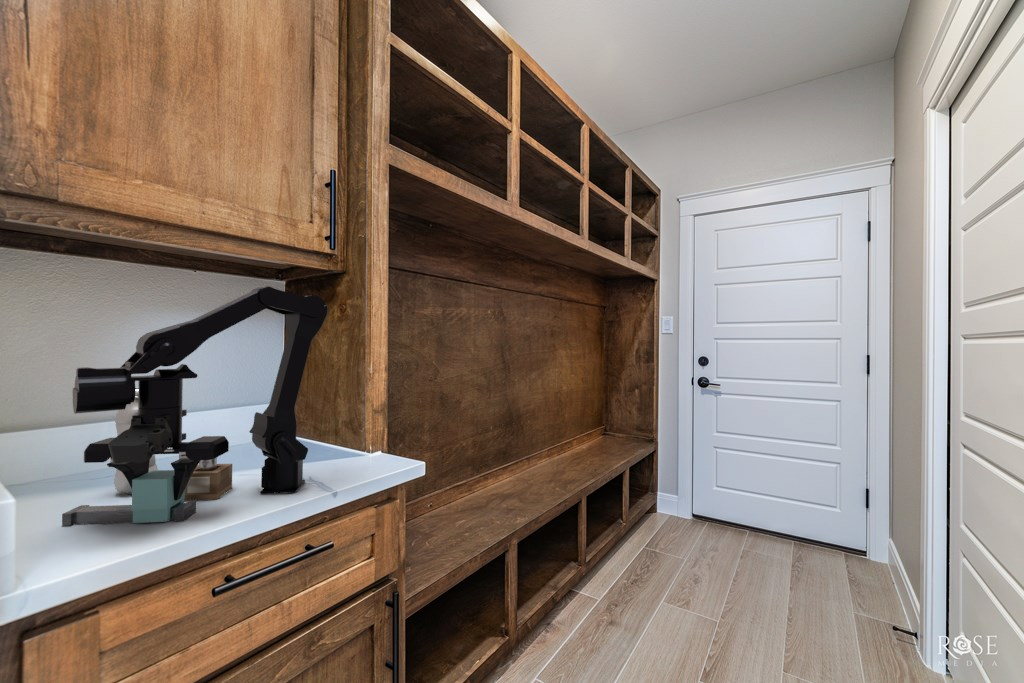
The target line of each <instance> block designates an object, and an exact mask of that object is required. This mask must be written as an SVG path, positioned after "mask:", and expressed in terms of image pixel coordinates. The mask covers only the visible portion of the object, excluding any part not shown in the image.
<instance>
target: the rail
mask: <svg viewBox="0 0 1024 683" xmlns="http://www.w3.org/2000/svg"><path fill="white" fill-rule="evenodd" d="M196 513H197V500H191V501H187V502H184V503H177V504H175V505H174V506H172V507H170V520H169V521H168V522H171V521H174V522H176V523H183V522H185V521H187V520H188V519H190V518H191V517H192V516H194V515H195V514H196ZM61 518H62V520H61V527H62V528H63V527H72V526H74V525H79V526H80V525H97V524H99V525H101V524H120V523H121V524H123V523H124V524H126V523H133V511H132V504H121V505H119V504H118V505H117V504H116V505H94V506H93V505H92V506H91V505H89V504H84V505H83V504H81V505H79V506H77V507H75V508H72V509H70V510H68V511H66V512H63V513H62V514H61Z"/></svg>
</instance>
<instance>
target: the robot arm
mask: <svg viewBox="0 0 1024 683" xmlns="http://www.w3.org/2000/svg"><path fill="white" fill-rule="evenodd" d="M264 310H268V311H271V312H274V313H277V314H279V315H284V316H285V321H284V322H285V329H286V341H285V344H284V348H283V351H282V355H281V360H280V363H279V366H278V372H277V374H276V378H275V381H274V386H273V390H272V392H271V393H272V394H271V397H270V401H269V404H268V406H267V408H266V409H265V410H264V411H263V413H261V412H255V413H254V416H253V424H252V427H251V429H249V434H251V435H252V436H251V440H252V444H254V446H255V447H256V448H258V449H259V450H261V452H262V455H263V456H264V457H267V458H265V459H264V465H263V466H262V467H261V489H260V495H267V494H293V493H297V492H298V491H299V490H300V488H302V486H304V484H305V483H306V480H305V479H304V478H303V474H304V472H303V470H304V469H303V466H304V460H306V457H307V455H308V452H309V448H308V447H306V445H304V444H303V442H301V441H300V440H298V439H297V431H298V430H297V429H298V423H297V421H298V420H297V416H296V404H297V401H298V396H299V393H300V389H301V385H302V382H303V381H302V380H303V378H304V377H303V376H304V375H305V374H304V372H305V368H306V365H307V362H308V357H309V354H310V353H309V352H310V349H311V345H312V342H313V339H315V337H316V336H317V334H318V333H319V331H320V330H322V327H323V325H324V323H325V320H326V318H327V316H328V314H329V313H328V311H329V307H328V304H327V303H326V302H325V300H324V299H323V298H322V297H321V296H319V295H315V294H310V295H301V294H298V293H293V292H289V291H283V290H281V289H277V288H274V287H272V286H268V285H266V286H258V287H256V288H253V289H252V290H251V291H250V292H248V293H246V294H243V295H241V296H239V297H237V298H236V299H232V300H231V301H229V302H227V303H224V304H222V305H221V306H219V307H217V308H215V309H212V310H210V311H207V312H206V313H204V314H202V315H200V316H198V317H195V318H194V319H191V320H188V321H183V322H180V323H177V324H173V325H170V326H166V327H161V328H159V329H156V330H152V331H150V332H146V333H145V334H143V335H141V336H140V337H139V338H138V340H137V342H136V346H135V350H136V351H135V352H134V353H132V355H131V356H130V357H129V358H128V359H127V360H125V361H124V363H123V364H122V365H120V367H106V368H105V367H103V368H102V367H101V368H98V367H97V368H96V367H88V366H87V367H77V368H76V369H75V372H76V373H75V374H76V375H75V381H74V387H72V409H73V413H74V414H85V413H86V414H87V413H88V414H89V413H98V412H99V413H100V412H111V411H113V412H114V411H118V410H124V409H125V408H126V405H127V404H131V403H132V402H134V400H135V388H136V382H138V387H137V388H138V414H137V415H133V416H132V419H131V426H130V428H129V429H128V430H125V431H123V432H122V433H121V434H120V435H117V436H116V437H109V438H105V439H101V440H98V441H95V442H90V443H89V444H88V445H87V446H86V448H85V449H84V451H83V463H85V464H89V463H95V464H96V463H105V462H107V461H108V460H109V459H110V462H109V463H107V464H106V465H107V467H108V468H114V469H116V470H117V469H118V470H119V471H121V472H122V473H123V474H124V476H125V477H126V479H127V480H128V482H129V484H130V486H131V488H132V480H133V479H135V478H138V477H140V476H142V475H144V474H146V473H148V472H149V462H150V458H151V457H152V455H153V454H155V455H175V454H176V455H178V459H176V460H174V461H172V462H171V463H170V465H171V467H172V470H174V471H175V473H174V491H173V493H174V500H179V499H180V498H181V496H182V494H183V492H184V490H185V488H186V486H187V484H188V482H189V480H190V477H191V476H192V474H193V472H194V470H195V469H196V467H197V465H199V462H200V461H201V460H211V459H215V458H216V457H217V458H218V457H221V456H222V455H224V454H226V453H228V452H229V444H230V443H229V440H228V438H227V437H226V436H225V435H213V436H211V435H209V436H208V435H206V436H205V435H204V436H201V437H199V438H196V439H194V440H191V441H185V440H187V433H186V432H184V433H183V417H186V416H187V415H188V414H187V409H183V390H184V389H183V386H184V385H183V383H184V382H183V381H184V380H183V379H186V380H187V379H197V378H198V377H199V376H198V374H197V373H196V372H194V371H193V370H192V369H190V368H189V366H188V364H186V363H185V364H184V363H182V364H180V365H179V366H178V367H176V368H166V369H165V368H162V369H160V368H159V367H173V366H174V365H177V364H179V363H180V362H182V361H183V360H185V359H186V358H187V357H189V356H190V355H191V354H193V353H194V352H195V351H197V350H198V348H199V347H201V346H202V345H203V344H204V343H205V342H206V341H208V340H209V339H210V338H213V337H214V336H215V335H218V334H220V333H222V332H223V331H225V330H227V329H229V328H231V327H233V326H235V325H237V324H238V323H241V322H243V321H244V320H247V319H248V318H251V317H252V316H254V315H257V314H258V313H260V312H262V311H264ZM158 368H159V369H158ZM154 370H155V371H154ZM152 371H154V373H153V375H152V374H151V375H150V374H149V373H151V372H152ZM144 374H149V375H144ZM132 375H133V376H132ZM134 375H135V376H134ZM183 441H184V442H183Z"/></svg>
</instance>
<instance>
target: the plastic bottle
mask: <svg viewBox="0 0 1024 683" xmlns="http://www.w3.org/2000/svg"><path fill="white" fill-rule="evenodd" d="M137 414H138V387H135V400H134V402H132V403H131V404H127V405H126V408H125V409H124V410H117V412H116V413H115V417H114V422H115V429H116V434H117V436H118V435H120V434H121V433H122V432H123V431H125V430H128V429H129V428H130V426H131V419H132V416H133V415H137ZM158 469H159V468H158V465H157V462H156V454H153V455H152V457H151V458H150V462H149V472H151V471H153V470H158ZM113 484H114V487H115V490H116V491H117V492H118V493H119V494H132V488H131V486H130V484H129V482H128V480H127V479H126V477H125V476H124V474H123V473H122V472H121V471H119V470H118V469H116V471H115V474H114V479H113Z"/></svg>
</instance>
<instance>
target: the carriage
mask: <svg viewBox="0 0 1024 683" xmlns="http://www.w3.org/2000/svg"><path fill="white" fill-rule="evenodd" d="M174 473H175V471H174V469H161V470H160V469H159V470H153V471H151V472H148V473H146V474H144V475H142V476H140V477H138V478H135V479H133V480H132V493H131V505H132V511H133V522H132V523H133V524H136V523H137V524H139V523H141V524H142V523H143V524H144V523H163V522H164V523H165V522H167V523H168V522H170V521H169V520H170V507H172V506H174V505H175V504H177V503H185V501H184V499H185V490H184V492H183V494H182V496H181V498H180V499H179V500H174V493H173V491H174Z"/></svg>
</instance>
